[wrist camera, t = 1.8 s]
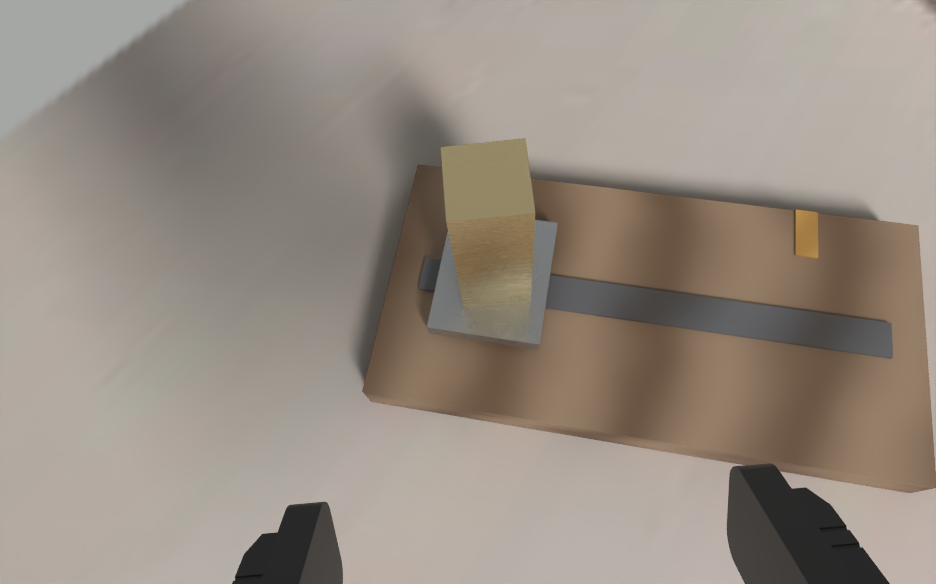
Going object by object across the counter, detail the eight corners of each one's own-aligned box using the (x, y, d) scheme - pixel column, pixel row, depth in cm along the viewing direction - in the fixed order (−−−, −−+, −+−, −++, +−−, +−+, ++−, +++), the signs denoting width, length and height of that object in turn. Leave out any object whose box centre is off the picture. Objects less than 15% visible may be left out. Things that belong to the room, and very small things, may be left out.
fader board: (371, 401, 32) (361, 389, 30) (422, 185, 36) (417, 162, 34) (910, 493, 29) (939, 487, 27) (895, 244, 33) (920, 223, 31)
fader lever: (428, 333, 31) (397, 246, 22) (453, 217, 33) (433, 100, 25) (538, 350, 30) (547, 267, 22) (556, 230, 32) (570, 115, 24)
